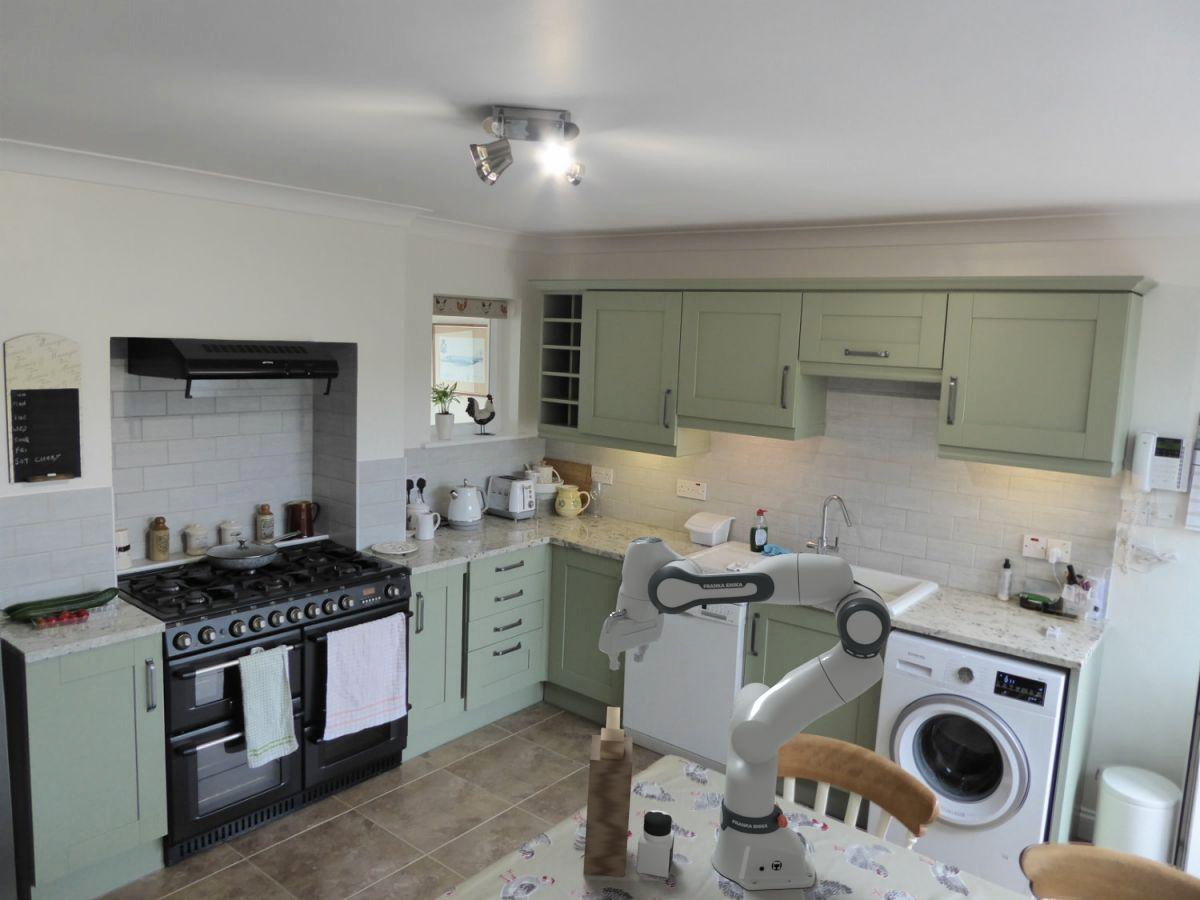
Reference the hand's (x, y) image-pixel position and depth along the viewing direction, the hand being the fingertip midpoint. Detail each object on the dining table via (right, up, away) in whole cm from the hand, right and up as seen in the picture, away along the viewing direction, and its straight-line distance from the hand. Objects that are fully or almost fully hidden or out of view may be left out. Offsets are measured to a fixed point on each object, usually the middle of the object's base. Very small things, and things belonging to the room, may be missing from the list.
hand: (626, 665), depth 198 cm
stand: (-5, -42, -5) cm, 42 cm away
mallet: (-3, -16, -4) cm, 16 cm away
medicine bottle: (+6, -43, -7) cm, 44 cm away
